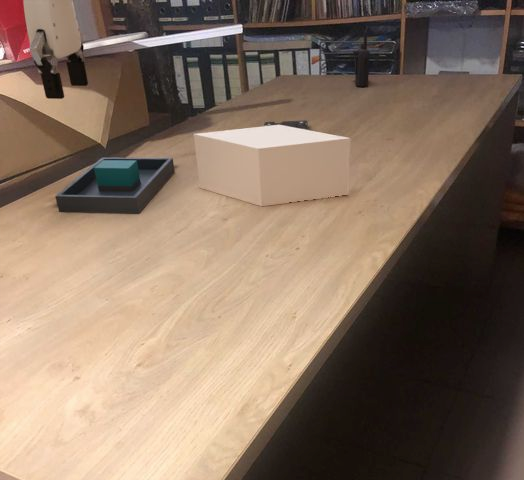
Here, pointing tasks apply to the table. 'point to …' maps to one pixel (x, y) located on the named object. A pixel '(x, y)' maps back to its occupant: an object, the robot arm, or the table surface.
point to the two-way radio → (362, 63)
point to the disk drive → (290, 124)
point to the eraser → (117, 175)
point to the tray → (92, 200)
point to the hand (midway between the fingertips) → (68, 91)
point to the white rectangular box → (273, 164)
